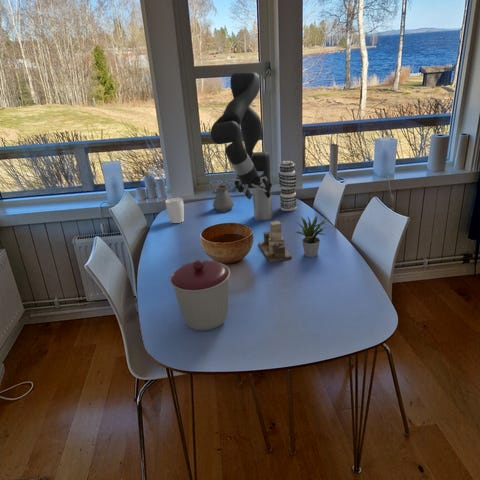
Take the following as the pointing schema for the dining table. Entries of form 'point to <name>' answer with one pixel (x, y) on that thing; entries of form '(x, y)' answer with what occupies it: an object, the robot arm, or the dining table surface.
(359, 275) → the dining table surface
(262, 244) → the base board
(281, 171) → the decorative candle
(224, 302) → the canister
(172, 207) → the cup
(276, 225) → the tan stepped block
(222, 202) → the coffee pot
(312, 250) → the house plant
